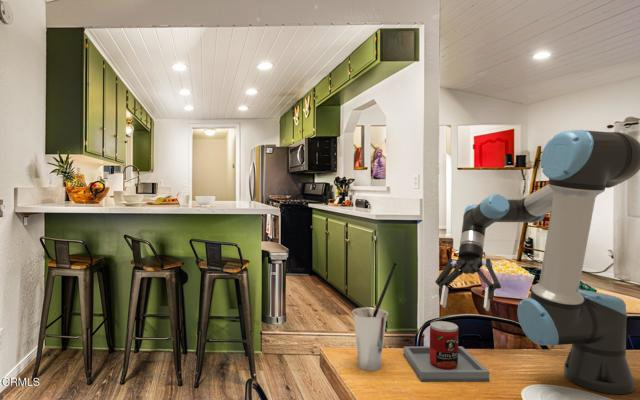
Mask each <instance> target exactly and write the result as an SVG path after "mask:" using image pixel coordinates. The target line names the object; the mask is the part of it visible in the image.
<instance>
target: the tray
mask: <svg viewBox="0 0 640 400" xmlns="http://www.w3.org/2000/svg"><path fill="white" fill-rule="evenodd" d="M403 356H404V358H405V359H406V361H407V362H408V364H409V365H410V367H411V369H412V370H413V371H414V373H415V374H416V377H417V378H418V379H419V381H420V382H421V383H436V382H437V383H438V382H439V383H440V382H442V383H446V382H447V383H448V382H449V383H451V382H453V383H454V382H458V383H460V382H461V383H463V382H464V383H465V382H467V383H468V382H481V383H482V382H490V371H489V370H488V369H487V368H486V367H485V366H484V365H483V364H481V363H480V362H479V361H478V360H477V359H476V358H475V357H474V355H472V354H471V353H469V351H467V350H466V349H465V347H464V346H459V345H458V364H457V367H456V368H454V369H440V368H437V367H435V366H433V365H432V364H431V362H430V345H429V346H428V345H427V346H403Z"/></svg>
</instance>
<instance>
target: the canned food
mask: <svg viewBox="0 0 640 400" xmlns="http://www.w3.org/2000/svg"><path fill="white" fill-rule="evenodd" d="M429 346H430V362H431V364H432V365H433V366H435V367H437V368H440V369H454V368H456V367H457V364H458V346H459V326H458V325H457V324H456V323H454V322H449V321H443V320H437V321H432V322H430V325H429Z"/></svg>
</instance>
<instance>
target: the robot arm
mask: <svg viewBox="0 0 640 400" xmlns="http://www.w3.org/2000/svg"><path fill="white" fill-rule="evenodd" d="M540 168H541V169H542V173H543V174H544V176H545V177H547V178H548V184H546V185H544V186H543V187H540V189H537V190H536V191H533V192H532V193H530V194H528V195H527V196H525V197H523V198H521V199H507V197H506V196H503V195H502V194H501V195H500V194H499V193H493V194H491V195H489V196H487V197H486V198H484V199H483V200H481V202H480V203H478V204H471V205H467V206H466V208H464V209H465V210H464V212H463V217H462V219H463V220H462V227H461V228H462V229H461V235H460V241H459V248H458V258H457V260H454V259H452V258H449V259H448V260H447V263H446V265H445V267H444V268H443V270H442V271H441V273H440V274H439V275H438V277H437V278H436V280H435V284H436V285H437V286H438V287H439V292H438V293H439V296H440V303H439V304H440V305H441V307H442V308H445V309H446V307H447V301H448V295H449V294H448V293H449V288H448V287H449V286H450V285H451V284H452V283H453V282H454V281H455V280H456V279H457V278H458V277H459V276H461V275H462V274H465V275H467V274H471V275H474V274H476V273H477V274H478V276H479V277H480V278H481V279H482V280H483V281H484V283H485V284H486V285H487V286H485V289H484V300H483V308H484V309H485V310H486V312H490V305H491V304H490V303H491V301H492V300H494V297H495V290H497V289H498V290H499V289H502V286H501V283H500V281H499V279H498V277H497V274H496V272H495V271H494V269H493V262H492V261H491V259H490V258H486V259H485V260H483V257H484V255H483V254H484V245H485V235H486V229H487V228H489V227H490V226H491V225H493V224H494V223H526V224H527V223H529V224H531V223H539V222H542V221H543V220H544V218H545V217H546V215H547V213H550V216H549V221H548V225H547V226H548V227H547V233H546V239H545V244H544V245H545V246H544V251H543V258H542V263H541V264H542V265H541V269H540V270H541V271H540V276H539V282H537V283H536V284H533V285H532V286H531V288H530V289H531V290H530V296H529V297H525V298H523V299H521V301H519V303H518V305H517V319H518V323H519V325H520V327H521V330H522V331H523V333H524V334H525V336H526V337H527V338H528V339H529V340H530V342H532V343H534V344H536V345H538V346H550V347H555V346H564V345H571V348H570V350H569V352H568V355H567V358H566V360H565V363H564V364H563V375H564V377H565V378H566V379H567V380H569V381H570V382H571V383H573V384H575V385H577V386H579V387H582V388H585V389H586V390H587V389H588V390H591V391H595V392H598V393H605V394H610V395H611V394H612V395H628V394H631V393H633V392H634V390H635V381H634V380H635V379H634V377H633V374H632V372H631V368H630V365H629V363H628V360H627V355H626V353H627V351H626V350H627V323H628V322H627V317H628V314H627V304H626V302H625V301H624V300H623V299H622V298H620V297H617V296H615V295H612V294H611V295H610V294H607V293H603V292H596V291H591V290H585V289H580V283H581V280H582V279H581V278H582V274H583V268H584V262H585V256H586V250H587V246H588V240H589V236H590V235H589V234H590V230H591V225H592V224H591V223H592V219H593V218H592V217H593V213H594V207H595V203H596V202H595V201H596V198H597V196H598V195H600V194H602V193H604V192H605V190H606V189H610V188H613V187H615V186H617V185H620V184H622V183H624V182H626V181H628V180H629V179H631V178H633V177H635V176H636V174H638V172H640V142H639V140H637V139H636V138H635V137H634V136H631V135H629V134H627V133H624V132H618V131H600V130H599V131H598V130H597V131H596V130H584V129H578V130H577V129H576V130H575V129H573V130H564V131H560V132H558V133H557V134H554V135H553V137H552V138H551V139H549V140H548V141H547V142H546V144H545V146H544V148H543V150H542V152H541V155H540ZM483 266H484V268H485V267H486V268H487V271H488V272H489V275H490V277H491V279H492V281H493V283H491V281H490V280H489V279H488V277H487V276H486V275H485V274H484V273H483V272H482V270H481V268H482V267H483Z"/></svg>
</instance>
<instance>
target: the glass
mask: <svg viewBox="0 0 640 400" xmlns="http://www.w3.org/2000/svg"><path fill="white" fill-rule="evenodd" d="M396 268H397V263H395V262H393V264H392V267H391V270H390V272H389V274H388V276H387V279H386V282H385V284H384V287H383V290H382V291H381V294H380V297H379V299H378V301H377V304H376V307H369V306H368V307H357V308H354V309H353V310H352V312H351V313H352V314H353V320H354V332H355V342H356V343H355V344H356V355H357V367H358V368H359V369H360V368H361V370H362V369H363V371H366V370H367V371H366V372H374V371H375V372H376V371H379V370H380V369H381V368H382V359H383V358H382V357H383V347H384V342H385V334H386V333H385V331H386V323H387V316H388V315H389V311H387V310H385V309H382V308H381V305H382V302H383V301H384V297H385V295H386V292H387V290H388V287H389V286H390V282H391V280H392V277H393V275H394V273H395V270H396Z"/></svg>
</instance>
